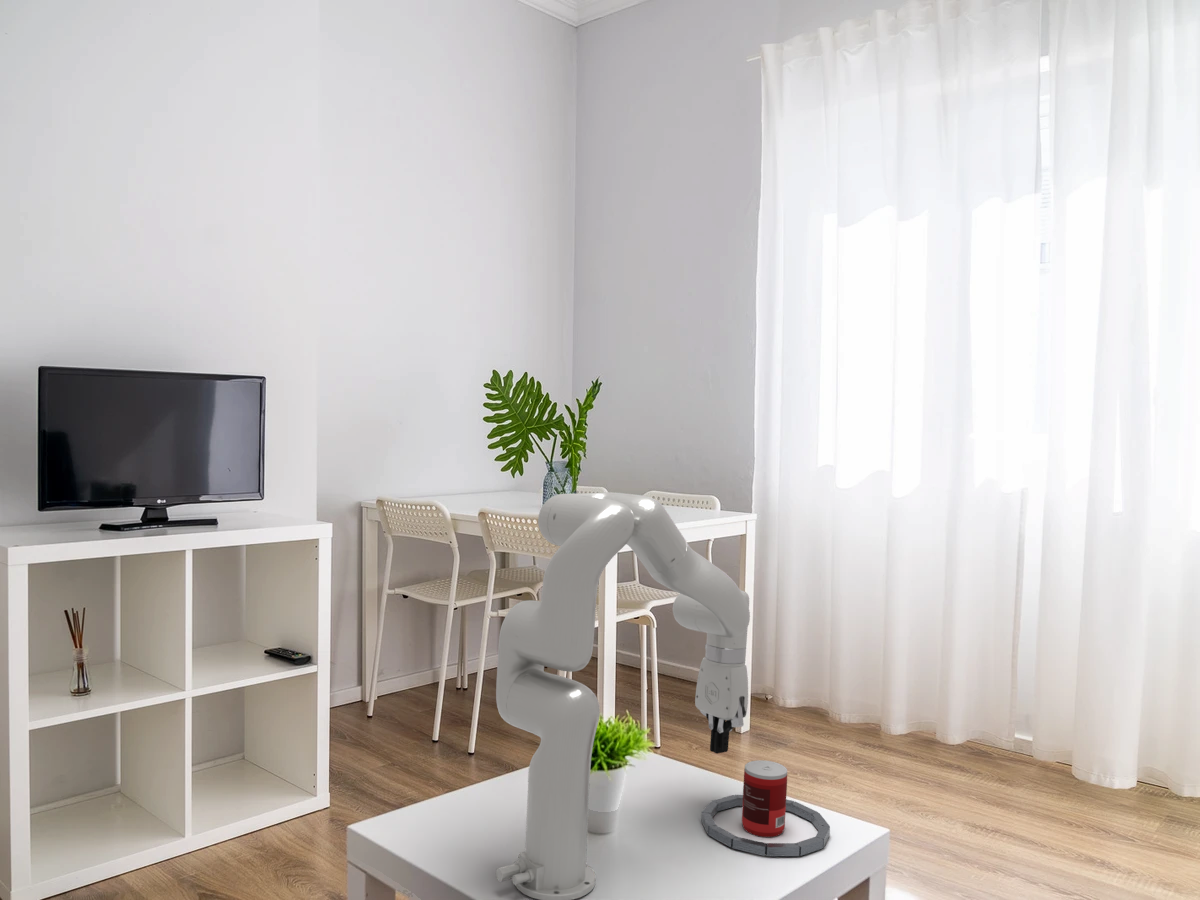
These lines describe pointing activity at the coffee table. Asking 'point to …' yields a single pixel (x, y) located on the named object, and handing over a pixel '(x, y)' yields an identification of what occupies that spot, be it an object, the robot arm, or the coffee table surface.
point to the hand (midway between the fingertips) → (718, 751)
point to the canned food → (764, 798)
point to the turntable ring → (761, 847)
